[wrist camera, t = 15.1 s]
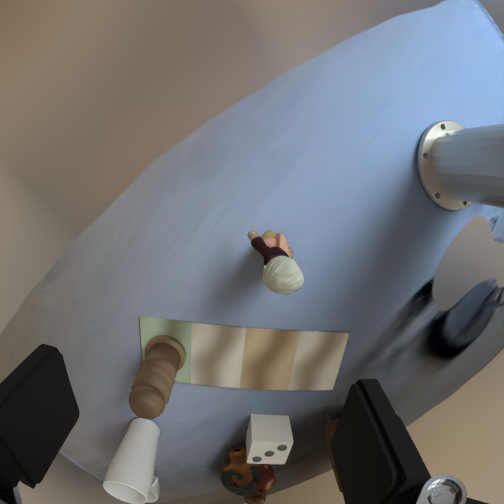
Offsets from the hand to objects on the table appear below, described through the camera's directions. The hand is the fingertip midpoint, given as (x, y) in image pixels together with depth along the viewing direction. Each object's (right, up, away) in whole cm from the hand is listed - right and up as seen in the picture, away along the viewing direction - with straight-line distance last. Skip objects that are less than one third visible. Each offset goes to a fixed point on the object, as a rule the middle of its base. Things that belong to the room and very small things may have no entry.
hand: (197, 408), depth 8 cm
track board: (0, -10, +31) cm, 33 cm away
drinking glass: (-16, -25, +34) cm, 45 cm away
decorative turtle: (+1, -33, +37) cm, 50 cm away
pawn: (-10, -9, +30) cm, 33 cm away
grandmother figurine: (+4, +6, +28) cm, 29 cm away
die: (+4, -24, +35) cm, 42 cm away
